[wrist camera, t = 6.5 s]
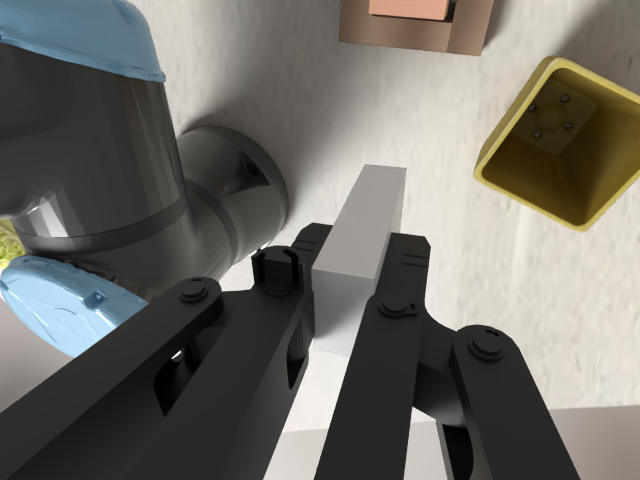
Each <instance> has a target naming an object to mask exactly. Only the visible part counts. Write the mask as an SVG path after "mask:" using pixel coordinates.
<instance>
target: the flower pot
mask: <svg viewBox="0 0 640 480" xmlns="http://www.w3.org/2000/svg"><path fill="white" fill-rule="evenodd" d="M563 95H568V96H569V100H568V101H567V102H561V97H562V96H563ZM532 104H534V105H536V110H535V111H529V106H530V105H532ZM567 123H572V125H573V126H572V128H571V129H569V130H567V129H565V125H566V124H567ZM537 131H539V132H540V133H541V136H540V137H538V138H535V137H534V136H533V134H534V133H535V132H537ZM639 177H640V95H638V94H636V93H635V92H633V91H631V90H629V89H627V88H625V87H623V86H621V85H619V84H617V83H615V82H613V81H611V80H609V79H607V78H605V77H603V76H601V75H599V74H597V73H595V72H593V71H591V70H589V69H587V68H585V67H583V66H581V65H579V64H577V63H575V62H573V61H571V60H569V59H567V58H564V57H558V56H548V57H546V58H545V59H543V60H542V61H541V63H540V64H539V65H538V67H537V68H536V70H535V71H534V73H533V74H532V76H531V77H530V79H529V80H528V82H527V83H526V85H525V86H524V87H523V89H522V90H521V92H520V93H519V95H518V96H517V98H516V99H515V101H514V102H513V104H512V105H511V107H510V108H509V109H508V111H507V112H506V114H505V115H504V117H503V118H502V119H501V121H500V122H499V124H498V125H497V126H496V128H495V129H494V131H493V132H492V133H491V135H490V136H489V138H488V139H487V140H486V142H485V143H484V145H483V147H482V148H481V151H480V154H479V157H478V159H477V162H476V166H475V169H474V172H473V178H474V179H475V180H476V181H478V182H479V183H481V184H483V185H485V186H487V187H489V188H491V189H493V190H495V191H497V192H499V193H502V194H504V195H505V196H507V197H509V198H511V199H513V200H515V201H517V202H519V203H521V204H523V205H525V206H527V207H529V208H531V209H533V210H535V211H537V212H539V213H541V214H543V215H545V216H546V217H548V218H550V219H552V220H554V221H556V222H558V223H560V224H562V225H563V226H565V227H567V228H569V229H572V230H574V231H577V232H585V231H587V230H588V229H589V228H590V227H591V226H592V225H593V224H594V223H595V222H596V221H597V220H598V219H599V218H600V217H601V216H602V215H603V214H604V213H605V212H606V211H607V210H608V209H609V208H610V207H611V206H612V205H613V204H614V203H615V202H616V200H617V199H618V198H619V197H620V196H621V195H622V194H623V193H624V192H625V191H626V190H627V189H628V188H629V187H630V186H631V185H632V184H633V183H634V182H635V181H636V180H637V179H638V178H639Z"/></svg>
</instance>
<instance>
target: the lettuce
mask: <svg viewBox="0 0 640 480" xmlns="http://www.w3.org/2000/svg"><path fill="white" fill-rule="evenodd" d="M24 254H25V250H24V248H23V245H22V243H21V241H20V239H19V237H18V235H17V233H16V231H15V229H14V227H13V225H12V223H11V222H10V220H9V219H2V220H0V268H6V267H7V266H8V265H9V262H10V261H11V260H12V259H14V258H15V257H19V256H21V255H22V256H23V255H24Z"/></svg>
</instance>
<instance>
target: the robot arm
mask: <svg viewBox="0 0 640 480" xmlns="http://www.w3.org/2000/svg"><path fill="white" fill-rule="evenodd" d="M165 81H166V76H165V74H164V73H163V72H162V71H161V69H160V65H159V62H158V58H157V54H156V51H155V47H154V43H153V39H152V36H151V32H150V28H149V25H148V23H147V21H146V19H145V17H144V16H143V14H142V13H141V12H140V10H139V9H138V8H137V7H136V6H134V5H133V4H132V3H130V2H129V1H127V0H0V220H2V219H9V220H10V222H11V223H12V225H13V227H14V229H15V231H16V233H17V235H18V237H19V239H20V241H21V243H22V245H23V248H24V250H25V254H24V255H23V256H22V255H21V256H19V257H15V258H14V259H12V260H11V261H10V262H9V265H8V266H7V267H6V268H5V269H4V270H3V271H2V273H1V279H0V290H1V293H2V295H3V297H4V299H5V301H6V303H7V304H8V306H9V307H10V308H11V309H12V311H13V312H14V313H15V314H16V316H17V317H18V318H19V319H20V320H21V321H22V322H23V323H24V324H25V325H27V326H28V328H30V329H31V330H32V331H33V332H34V333H36V334H37V335H38V336H39V337H41V338H42V339H43V340H45V341H47V342H48V343H49V344H51V345H52V346H54V347H55V348H57V349H59V350H60V351H62V352H64V353H65V354H67V355H69V356H71V357H73V358H74V359H73V360H72V361H70V362H69V363H68V364H66V365H65V366H64V367H62V368H61V369H60V370H58V371H57V372H56V373H54V374H53V375H51V376H50V377H49V378H48V379H46V380H45V381H43V382H42V383H41V384H39V385H38V386H37V387H35V388H34V389H32V390H31V391H30V392H29V393H27V394H26V395H24V396H23V397H22V398H20V399H19V400H18V401H16V402H15V403H13V404H12V405H11V406H10V407H8V408H7V409H5V410H4V411H3V412H1V413H0V480H263V478H264V476H265V473H266V471H267V468H268V465H269V463H270V460H271V458H272V455H273V453H274V450H275V448H276V445H277V442H278V440H279V437H280V435H281V432H282V430H283V427H284V425H285V422H286V420H287V417H288V414H289V412H290V409H291V407H292V404H293V402H294V399H295V397H296V394H297V391H298V389H299V386H300V384H301V381H302V379H303V376H304V374H305V371H306V369H307V366H308V360H309V351H308V349H309V346H310V344H311V341H312V339H313V337H314V349H315V350H320V351H325V352H330V353H334V354H339V355H344V356H348V357H350V360H349V363H348V366H347V370H346V373H345V376H344V380H343V383H342V386H341V390H340V393H339V396H338V400H337V403H336V407H335V410H334V413H333V417H332V420H331V423H330V427H329V430H328V433H327V437H326V440H325V444H324V447H323V450H322V454H321V457H320V460H319V464H318V467H317V470H316V474H315V477H314V480H403V479H404V470H405V463H406V454H407V445H408V438H409V429H410V421H411V413H412V406H413V407H414V408H416V409H418V410H420V411H422V412H423V413H425V414H427V415H429V416H431V417H432V418H434V419H436V426H437V430H438V435H439V440H440V444H441V450H442V455H443V459H444V464H445V469H446V474H447V479H448V480H581V479H580V477H579V476H578V473H577V471H576V469H575V467H574V465H573V462H572V460H571V458H570V456H569V454H568V452H567V450H566V448H565V445H564V443H563V441H562V439H561V437H560V435H559V433H558V430H557V428H556V426H555V424H554V422H553V420H552V418H551V416H550V413H549V411H548V409H547V407H546V405H545V403H544V401H543V399H542V396H541V394H540V392H539V390H538V388H537V386H536V384H535V381H534V379H533V377H532V375H531V373H530V371H529V369H528V367H527V364H526V362H525V360H524V358H523V356H522V354H521V352H520V350H519V348H518V346H517V345H516V344H515V342H514V341H513V339H511V338H510V337H509V336H507V335H506V334H505V333H503V332H502V331H500V330H497V329H495V328H492V327H490V326H484V325H469V326H465V327H463V328H461V329H459V330H458V331H457V332H456V331H454V330H452V329H449V328H447V327H445V326H443V325H441V324H440V323H438V322H437V321H436V320H434V319H433V318H432V317H431V316H430V315H429V313H428V312H427V310H426V308H425V301H424V300H425V292H426V283H427V275H428V266H429V258H430V250H431V246H430V245H429V243H428V241H427V239H426V238H425V237H424V236H417V235H409V234H402V233H400V225H401V216H402V206H403V197H404V187H405V177H406V168H400V167H390V166H379V165H369V164H365V165H364V167H363V169H362V171H361V173H360V175H359V177H358V179H357V181H356V182H355V184H354V186H353V188H352V190H351V192H350V194H349V196H348V198H347V200H346V202H345V204H344V206H343V208H342V210H341V212H340V214H339V216H338V218H337V220H336V222H335V223H334V225H326V224H319V223H311V224H310V225H308V226H306V227H305V228H303V229H302V230H301V231H300V233H299V234H298V236H297V237H296V239H295V241H294V242H293V244H292V245H291V247H289V246H277V245H276V246H270V247H267V246H268V245H269V244H270V243H271V242H272V241H273V240H274V238H275V237H276V236H277V234H278V233H279V232H280V230H281V229H282V227H283V225H284V223H285V220H286V217H287V212H288V196H287V190H286V187H285V183H284V180H283V178H282V176H281V174H280V172H279V170H278V168H277V166H276V165H275V163H274V162H273V161H272V159H271V158H270V157H269V156H268V154H267V153H266V152H265V151H264V150H263V149H262V148H261V147H260V146H259V145H257V144H256V143H255V142H254V141H252V140H251V139H249V138H248V137H246V136H244V135H242V134H240V133H238V132H236V131H233V130H231V129H227V128H223V127H216V126H206V127H200V128H196V129H193V130H191V131H189V132H187V133H185V134H184V135H182V136H180V137H178V138H177V139H176V137H175V132H174V128H173V123H172V119H171V114H170V109H169V105H168V100H167V96H166V91H165V86H164V82H165ZM251 255H252V256H251ZM248 256H251V260H252V267H253V275H254V283H255V284H254V285H253V287H252V288H251V289H249V290H242V291H224V292H222V290H221V287H220V285H219V280H220V279H221V278H222V277H223V275H224V274H225V273H226V272H227V271H228V269H229V268H230V267H231V266H232V265H234V264H236V263H238V262H240V261H241V260H243V259H244V258H245V257H248ZM179 351H181V353H180V354H179V355H178V356H177V357H175V358H173V359H171V358H172V357H173V356H174V355H175V354H176V353H178V352H179Z"/></svg>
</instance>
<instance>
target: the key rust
mask: <svg viewBox="0 0 640 480" xmlns="http://www.w3.org/2000/svg"><path fill="white" fill-rule="evenodd" d="M449 1H450V0H370V4H369V14H379V15H391V16H402V17H414V18H425V19H437V20H444V18H445V17H446V15H447V11H448V6H449Z"/></svg>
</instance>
